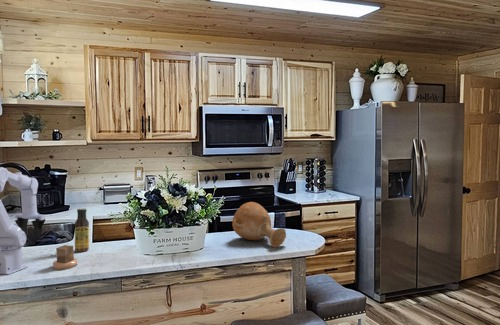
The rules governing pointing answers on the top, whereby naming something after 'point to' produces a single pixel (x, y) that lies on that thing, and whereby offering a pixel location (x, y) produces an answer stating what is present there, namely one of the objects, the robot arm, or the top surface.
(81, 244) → the sauce bottle
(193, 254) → the top surface
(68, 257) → the walnut block
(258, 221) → the jug
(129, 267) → the top surface
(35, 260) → the top surface
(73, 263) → the tan flattened disc
